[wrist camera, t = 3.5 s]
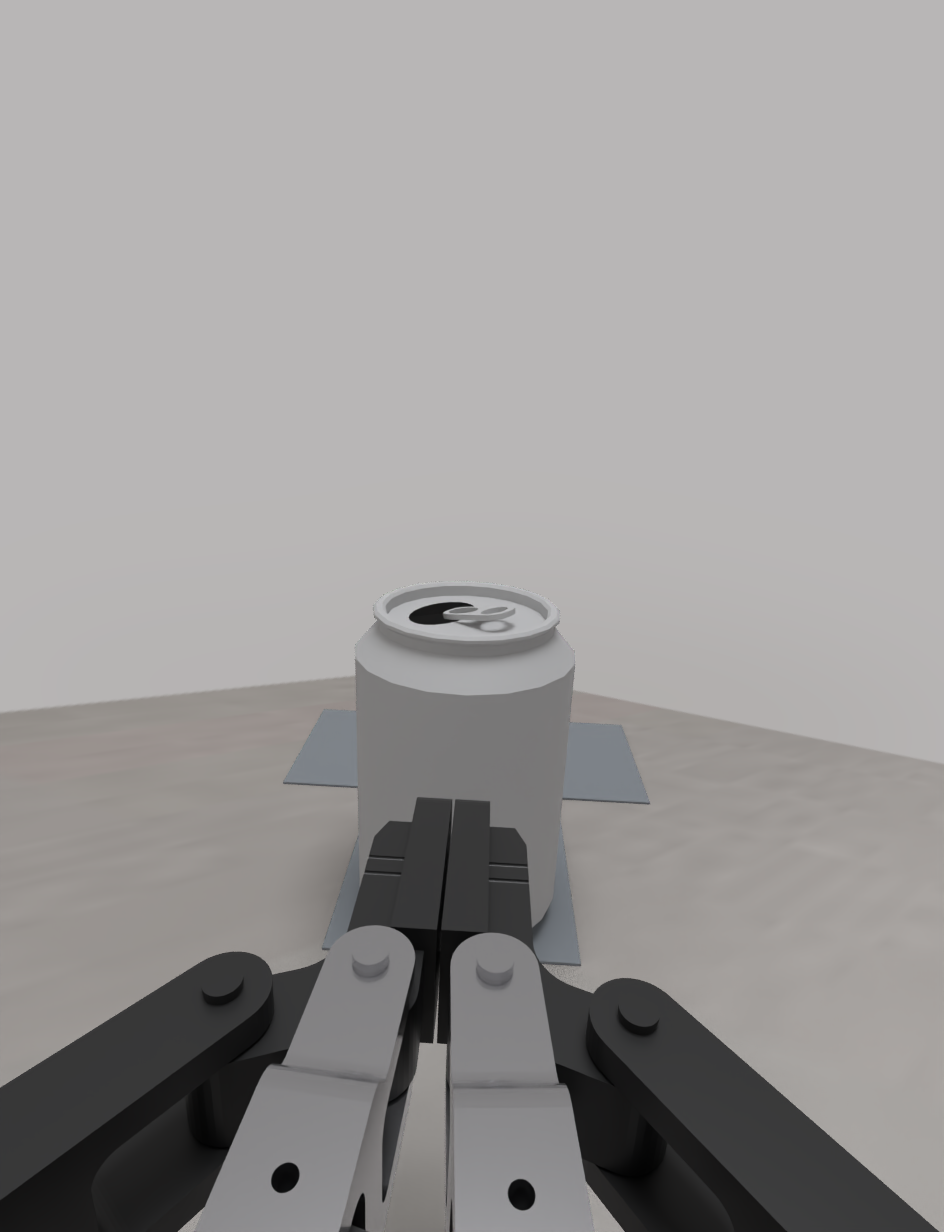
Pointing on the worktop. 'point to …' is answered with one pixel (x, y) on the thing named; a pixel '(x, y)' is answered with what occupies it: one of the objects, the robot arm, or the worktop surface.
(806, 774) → the worktop surface
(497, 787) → the can
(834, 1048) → the worktop surface
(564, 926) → the t mat
